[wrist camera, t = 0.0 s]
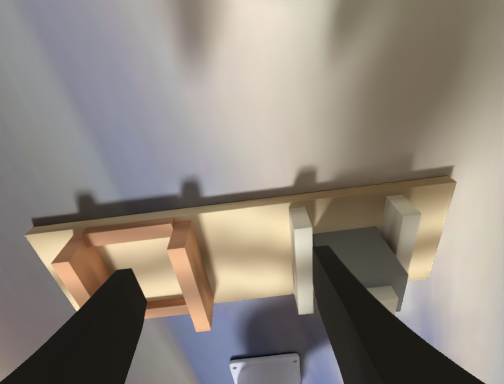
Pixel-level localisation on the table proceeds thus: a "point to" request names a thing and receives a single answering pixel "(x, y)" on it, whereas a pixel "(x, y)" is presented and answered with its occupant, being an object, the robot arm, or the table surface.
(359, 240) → the plug
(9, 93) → the table surface
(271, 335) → the table surface
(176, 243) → the wooden board with blocks
